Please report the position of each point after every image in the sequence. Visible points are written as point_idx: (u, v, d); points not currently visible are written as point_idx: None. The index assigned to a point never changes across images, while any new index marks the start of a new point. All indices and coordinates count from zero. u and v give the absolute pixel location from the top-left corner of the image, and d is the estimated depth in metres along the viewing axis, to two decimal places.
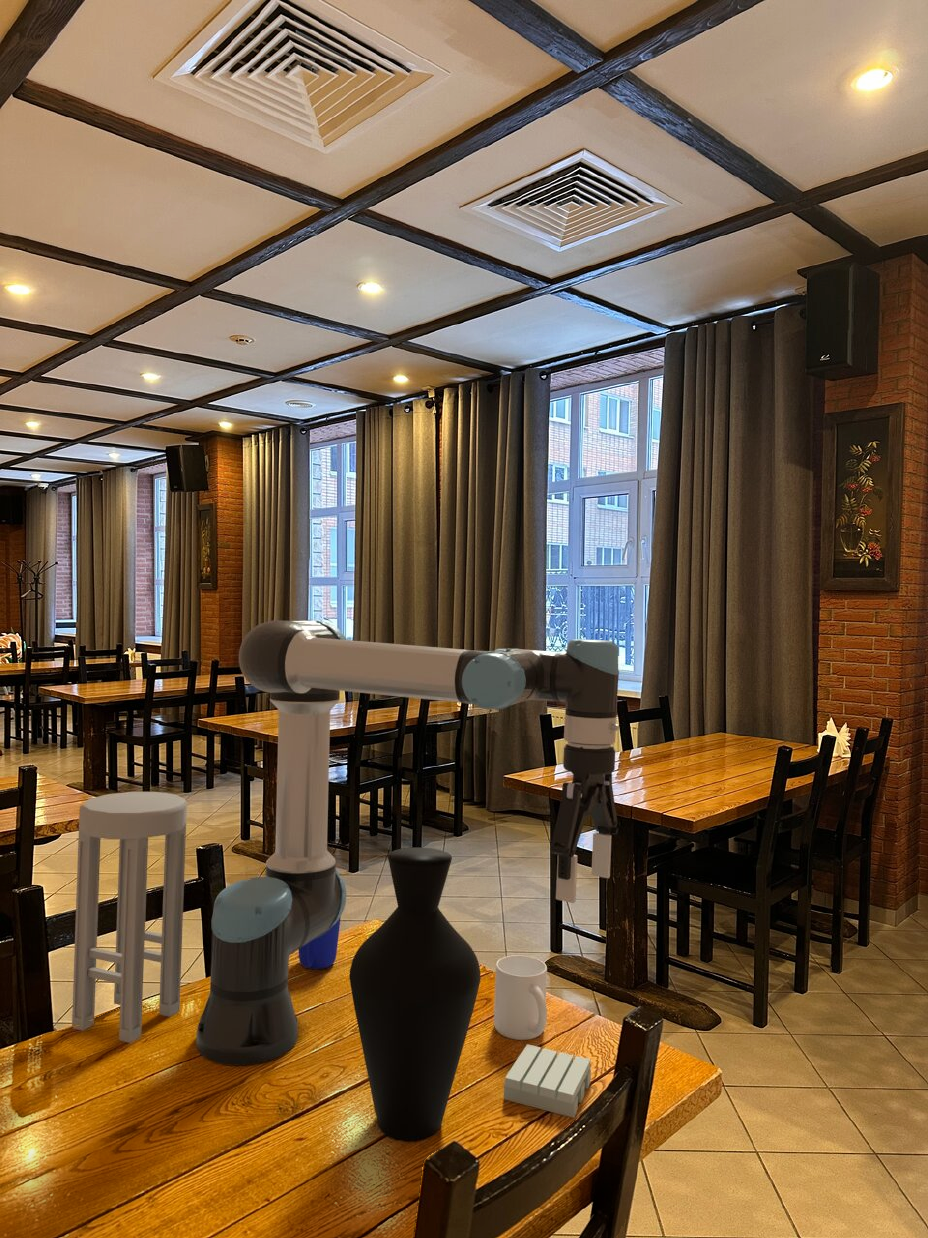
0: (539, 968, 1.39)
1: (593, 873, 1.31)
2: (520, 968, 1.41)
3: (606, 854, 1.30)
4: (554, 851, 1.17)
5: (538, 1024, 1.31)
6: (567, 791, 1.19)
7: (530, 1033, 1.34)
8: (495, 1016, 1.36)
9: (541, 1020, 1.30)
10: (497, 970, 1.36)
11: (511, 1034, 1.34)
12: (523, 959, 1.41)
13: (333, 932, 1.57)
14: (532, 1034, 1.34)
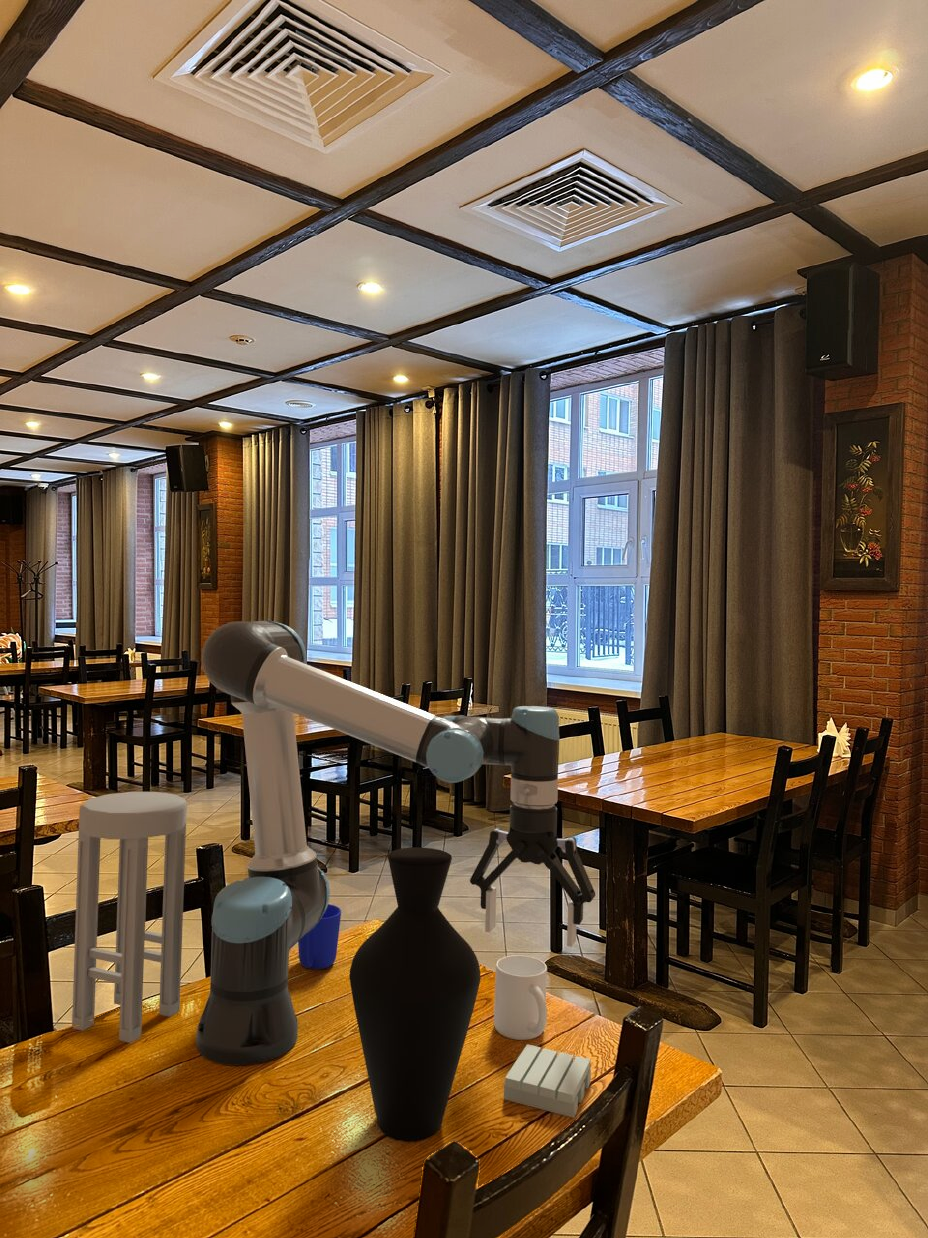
0: (539, 968, 1.39)
1: None
2: (520, 968, 1.41)
3: None
4: None
5: (538, 1024, 1.31)
6: None
7: (530, 1033, 1.34)
8: (495, 1016, 1.36)
9: (541, 1020, 1.30)
10: (497, 970, 1.36)
11: (511, 1034, 1.34)
12: (523, 959, 1.41)
13: (333, 932, 1.57)
14: (532, 1034, 1.34)
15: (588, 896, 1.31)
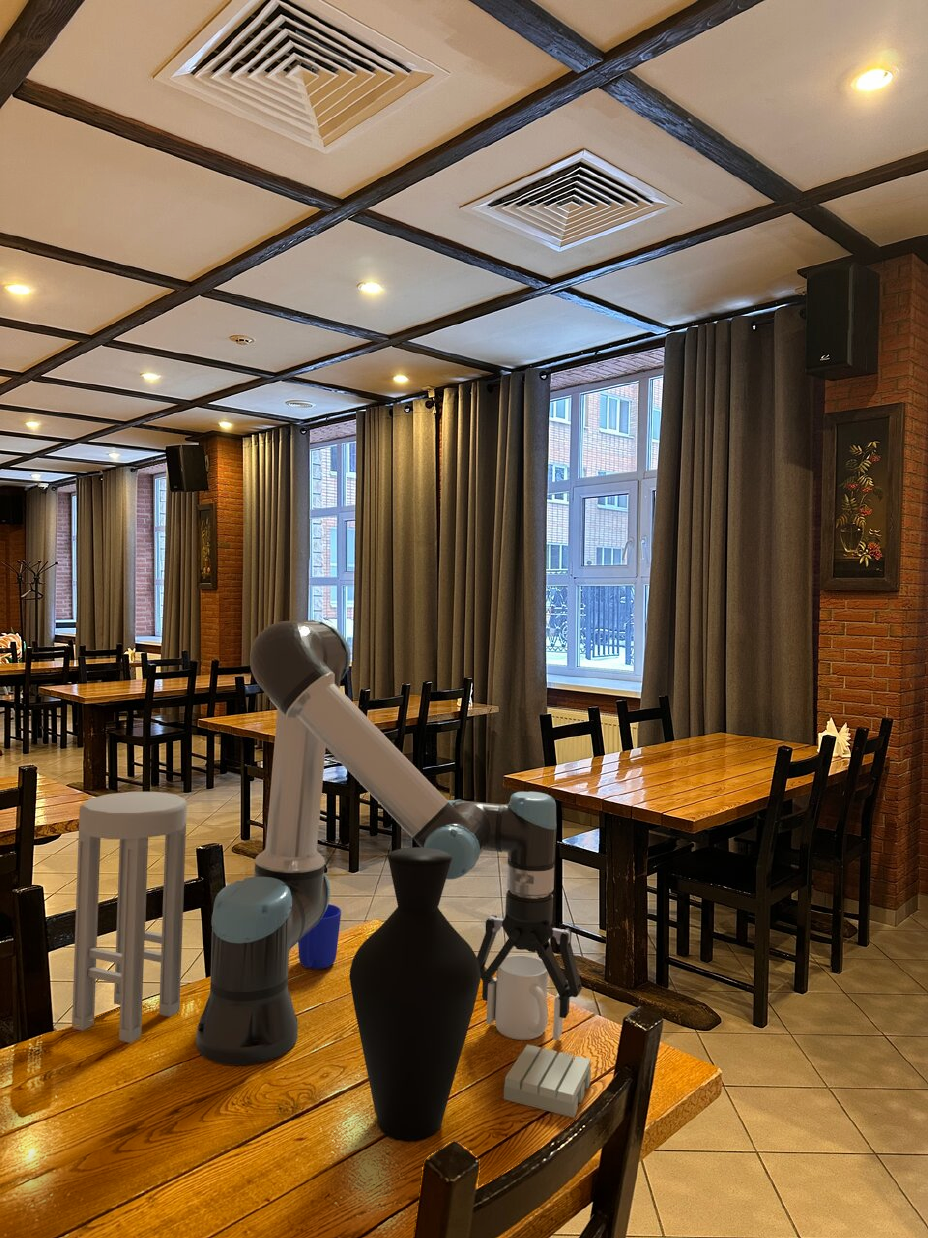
0: (541, 968, 1.39)
1: None
2: (521, 968, 1.41)
3: None
4: None
5: (539, 1024, 1.31)
6: None
7: (531, 1033, 1.33)
8: (496, 1016, 1.36)
9: (542, 1020, 1.30)
10: (498, 970, 1.36)
11: (512, 1034, 1.33)
12: (524, 959, 1.41)
13: (333, 932, 1.57)
14: (533, 1034, 1.34)
15: (575, 991, 1.31)
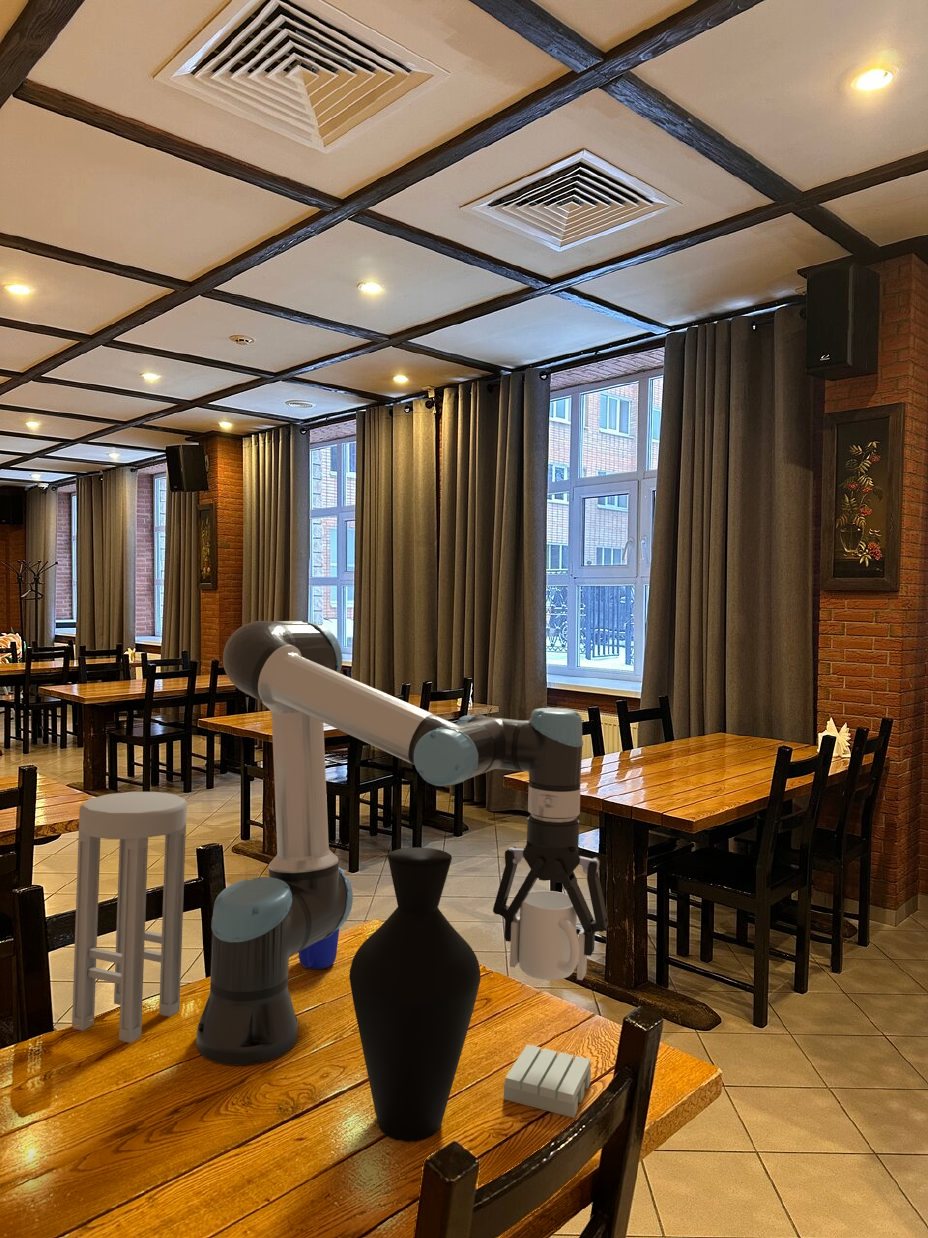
0: (568, 903, 1.26)
1: None
2: (546, 904, 1.28)
3: None
4: None
5: (570, 961, 1.18)
6: None
7: (560, 972, 1.21)
8: (520, 955, 1.23)
9: (573, 956, 1.17)
10: (522, 904, 1.23)
11: (539, 974, 1.21)
12: (549, 895, 1.28)
13: (333, 932, 1.57)
14: (562, 973, 1.21)
15: (601, 925, 1.19)
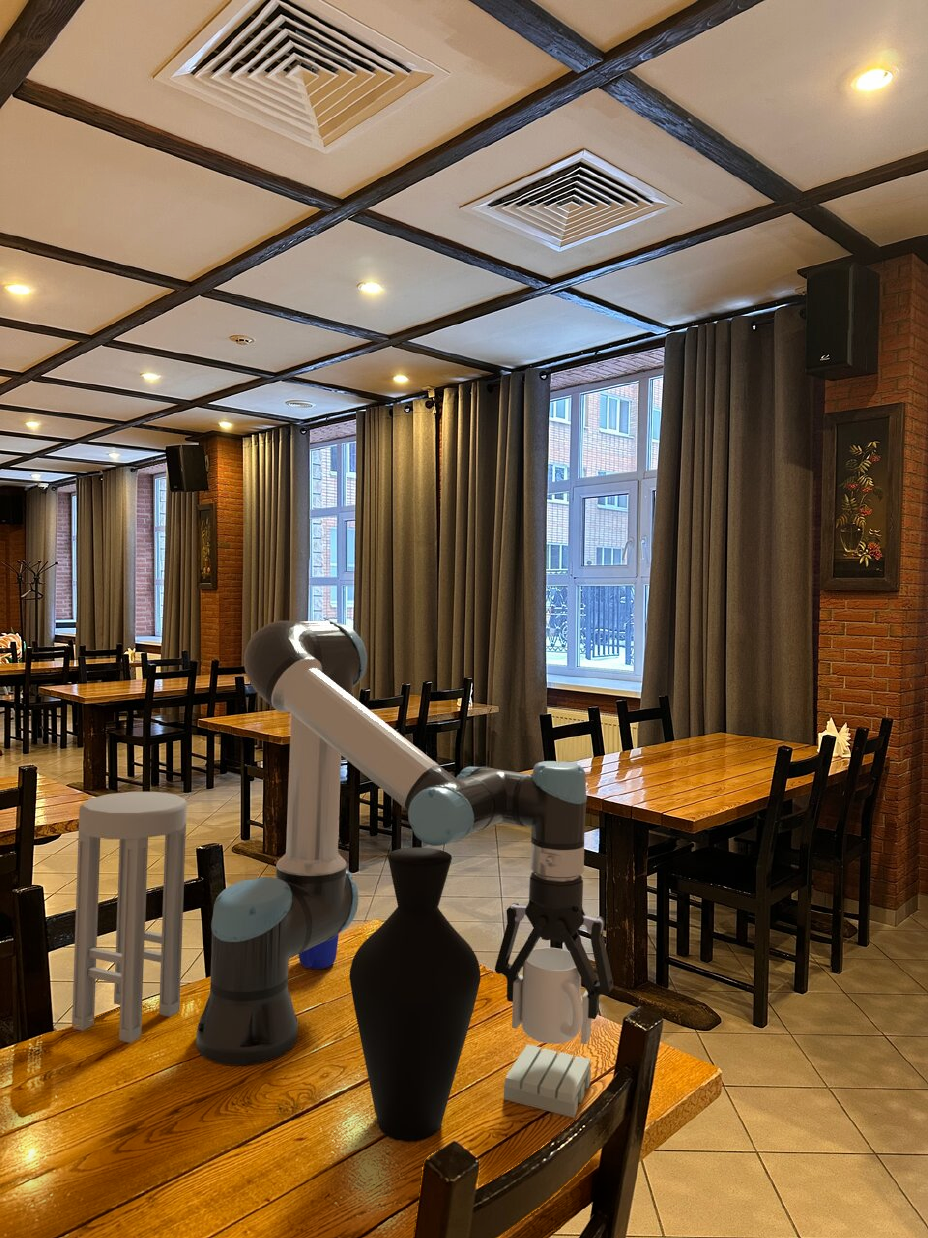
0: (573, 962, 1.23)
1: None
2: (550, 962, 1.25)
3: None
4: None
5: (573, 1025, 1.14)
6: None
7: (563, 1036, 1.17)
8: (523, 1016, 1.20)
9: (576, 1021, 1.14)
10: (525, 964, 1.20)
11: (542, 1037, 1.17)
12: (553, 952, 1.25)
13: None
14: (566, 1037, 1.17)
15: (606, 988, 1.15)
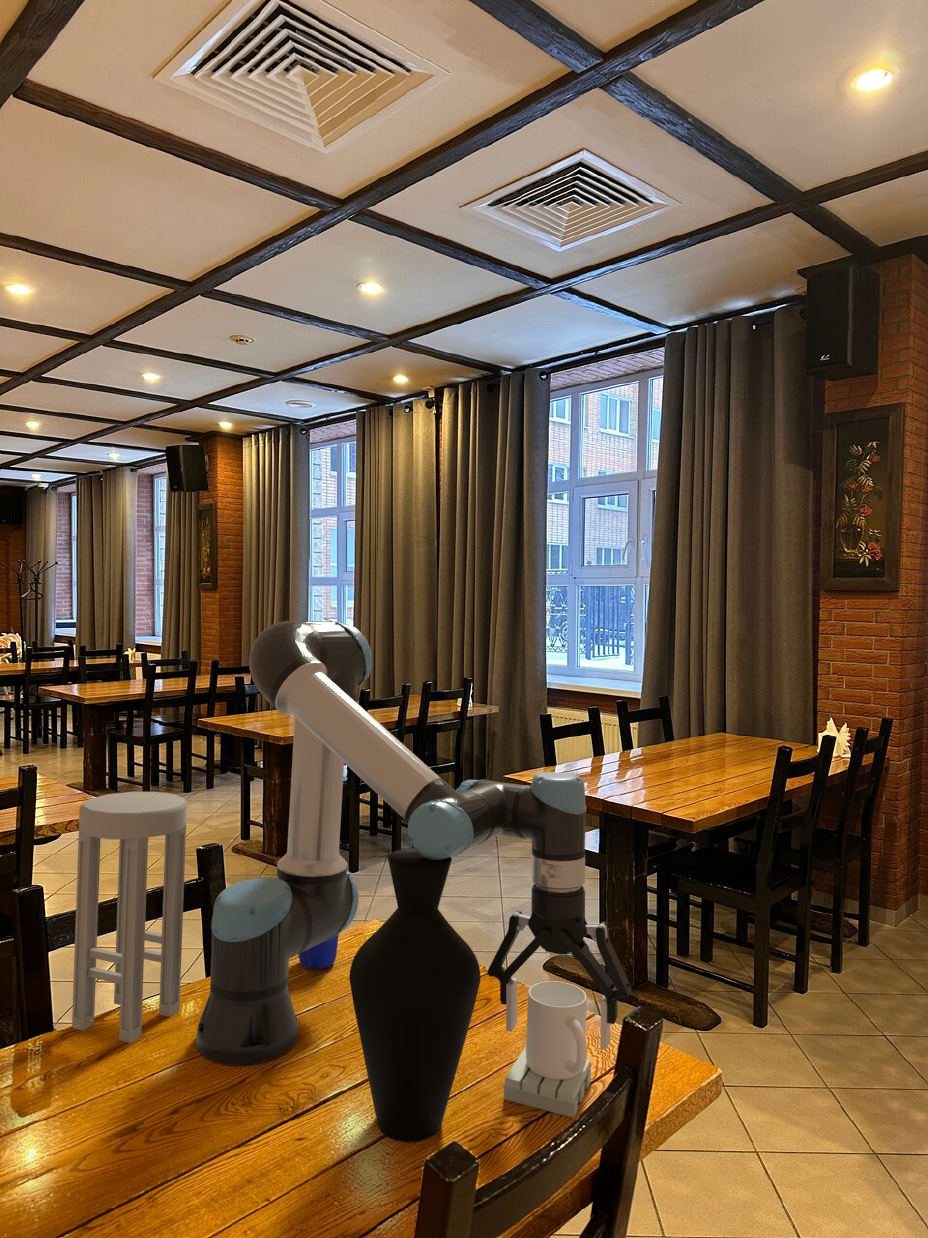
0: (578, 997, 1.22)
1: None
2: (556, 995, 1.24)
3: (601, 1021, 1.16)
4: None
5: (576, 1063, 1.14)
6: None
7: (567, 1072, 1.16)
8: (527, 1051, 1.19)
9: (580, 1059, 1.13)
10: (529, 999, 1.19)
11: (545, 1073, 1.17)
12: (559, 986, 1.24)
13: None
14: (570, 1073, 1.17)
15: (624, 992, 1.14)
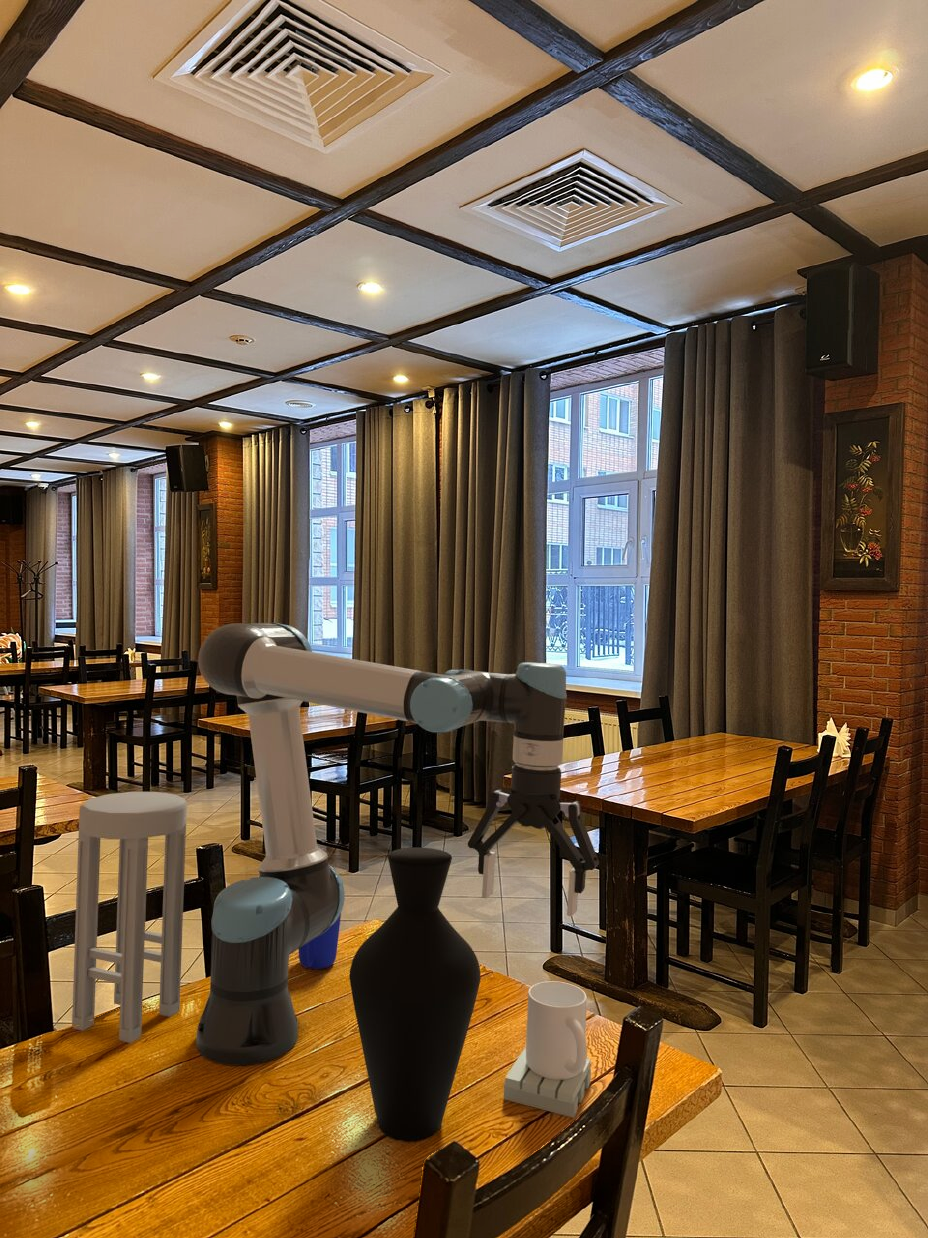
0: (578, 997, 1.22)
1: None
2: (556, 995, 1.24)
3: None
4: None
5: (576, 1063, 1.14)
6: None
7: (567, 1072, 1.16)
8: (527, 1051, 1.19)
9: (580, 1059, 1.13)
10: (529, 999, 1.19)
11: (545, 1073, 1.17)
12: (559, 986, 1.24)
13: (333, 932, 1.57)
14: (570, 1073, 1.17)
15: (591, 863, 1.23)
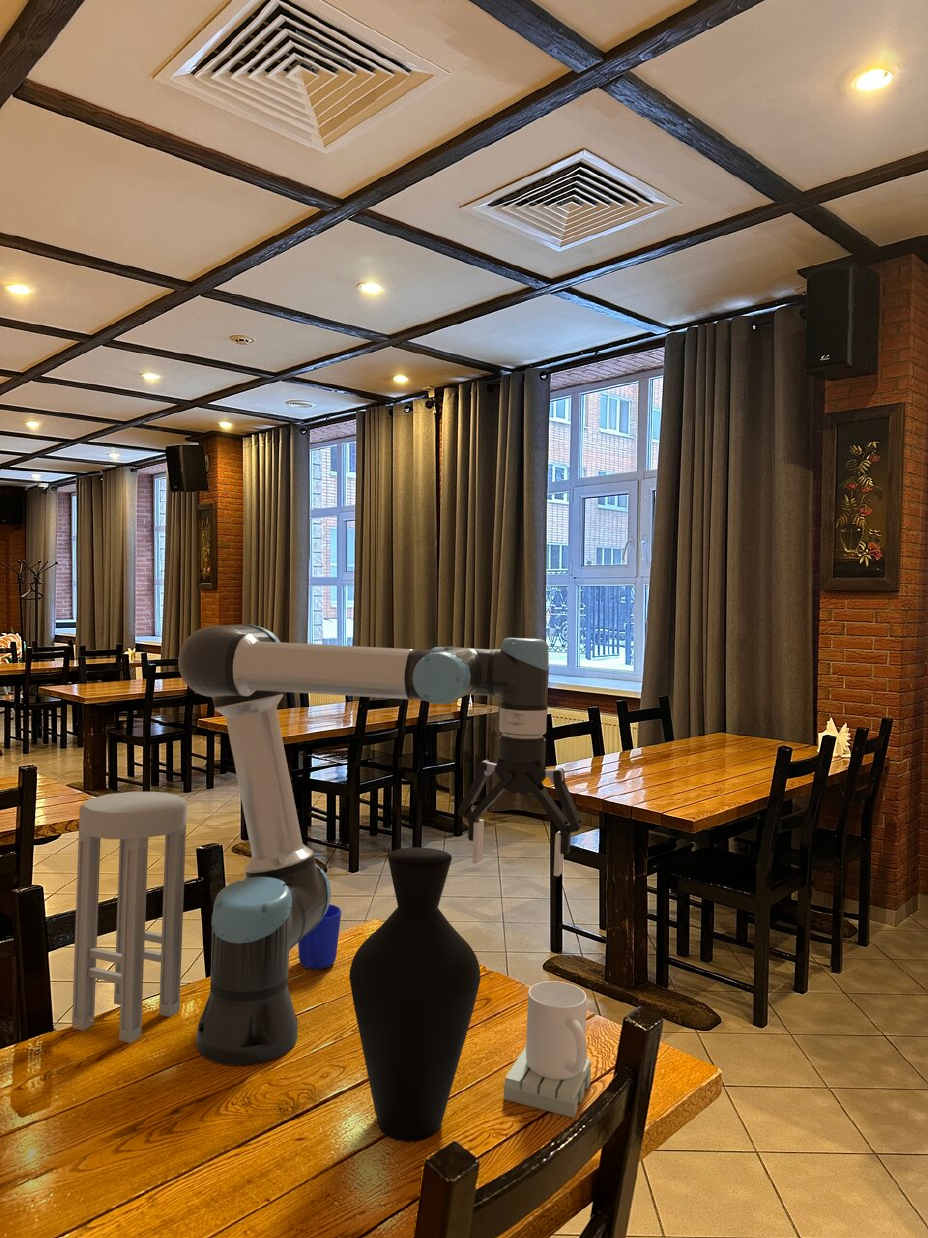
0: (578, 997, 1.22)
1: None
2: (556, 995, 1.24)
3: None
4: None
5: (576, 1063, 1.14)
6: None
7: (567, 1072, 1.16)
8: (527, 1051, 1.19)
9: (580, 1059, 1.13)
10: (529, 999, 1.19)
11: (545, 1073, 1.17)
12: (559, 986, 1.24)
13: (333, 932, 1.57)
14: (570, 1073, 1.17)
15: (575, 825, 1.30)
